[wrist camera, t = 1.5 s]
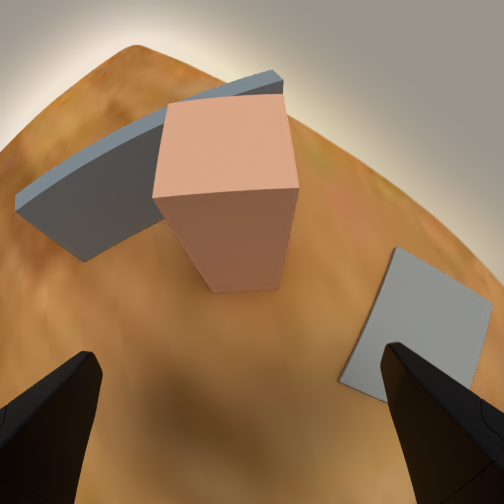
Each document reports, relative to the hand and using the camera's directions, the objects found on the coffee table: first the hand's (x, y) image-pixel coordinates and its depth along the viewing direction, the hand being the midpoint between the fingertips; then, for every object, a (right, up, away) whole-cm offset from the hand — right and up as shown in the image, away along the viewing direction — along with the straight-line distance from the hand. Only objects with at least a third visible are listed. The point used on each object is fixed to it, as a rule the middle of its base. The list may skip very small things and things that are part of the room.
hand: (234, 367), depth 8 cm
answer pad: (+15, -4, +13) cm, 20 cm away
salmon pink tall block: (0, +3, +16) cm, 16 cm away
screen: (-6, +7, +18) cm, 20 cm away
